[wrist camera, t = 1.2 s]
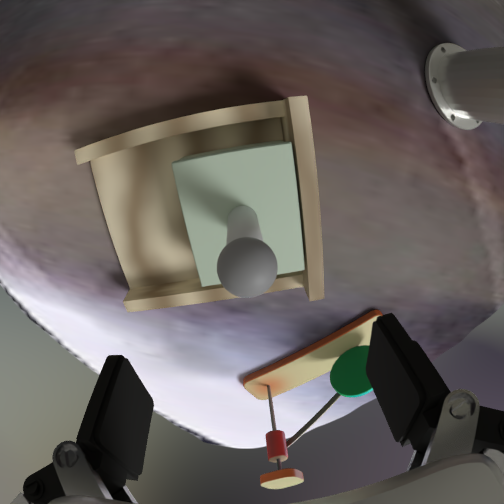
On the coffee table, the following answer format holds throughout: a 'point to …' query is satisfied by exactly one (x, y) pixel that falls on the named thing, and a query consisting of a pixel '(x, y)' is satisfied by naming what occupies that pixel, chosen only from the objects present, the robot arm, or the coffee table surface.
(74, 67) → the coffee table surface
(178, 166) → the green joystick
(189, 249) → the bay
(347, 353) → the crank mechanism
